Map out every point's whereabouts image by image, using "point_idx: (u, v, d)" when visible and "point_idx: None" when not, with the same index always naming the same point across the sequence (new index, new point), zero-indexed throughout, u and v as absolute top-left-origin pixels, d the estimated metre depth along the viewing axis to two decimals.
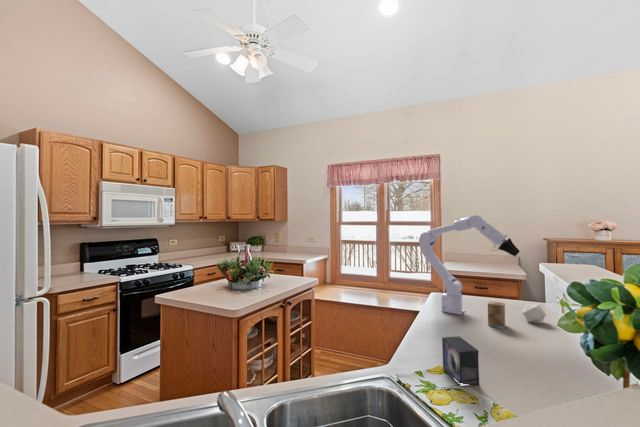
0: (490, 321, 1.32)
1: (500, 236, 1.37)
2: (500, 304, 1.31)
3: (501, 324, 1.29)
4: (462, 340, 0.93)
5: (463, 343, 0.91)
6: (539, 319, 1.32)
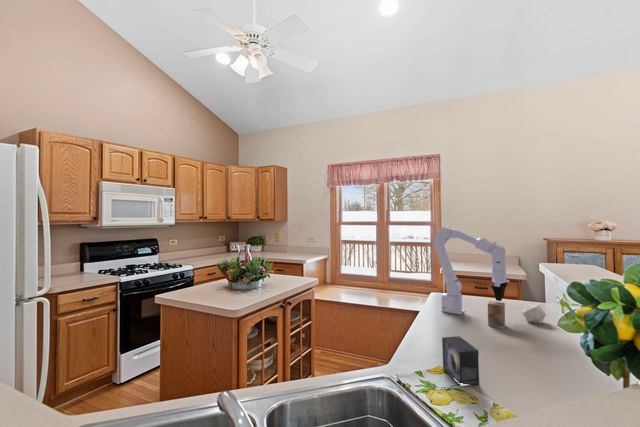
0: (490, 321, 1.32)
1: (502, 279, 1.38)
2: (500, 304, 1.31)
3: (501, 324, 1.29)
4: (462, 340, 0.93)
5: (463, 343, 0.91)
6: (539, 319, 1.32)
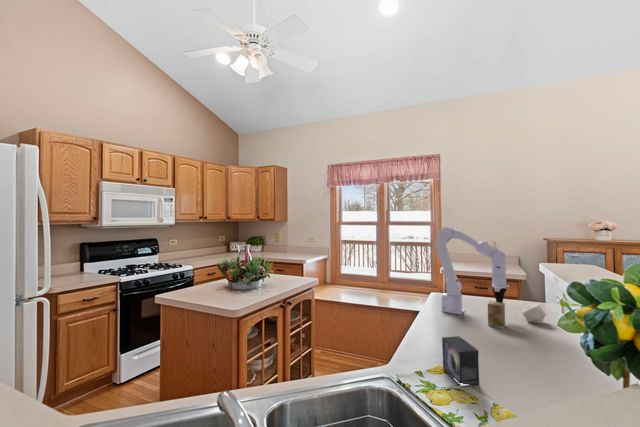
0: (490, 321, 1.32)
1: (502, 284, 1.38)
2: (500, 304, 1.31)
3: (501, 324, 1.29)
4: (462, 340, 0.93)
5: (463, 343, 0.91)
6: (539, 319, 1.32)
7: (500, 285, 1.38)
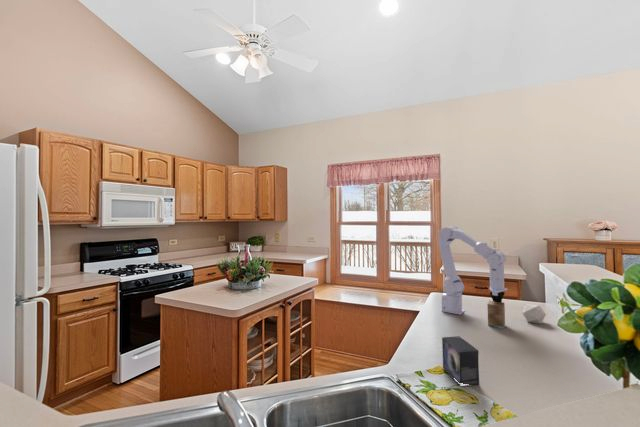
0: (490, 321, 1.32)
1: (500, 287, 1.32)
2: (500, 304, 1.30)
3: (501, 324, 1.29)
4: (462, 340, 0.93)
5: (463, 343, 0.91)
6: (539, 319, 1.32)
7: (498, 289, 1.32)
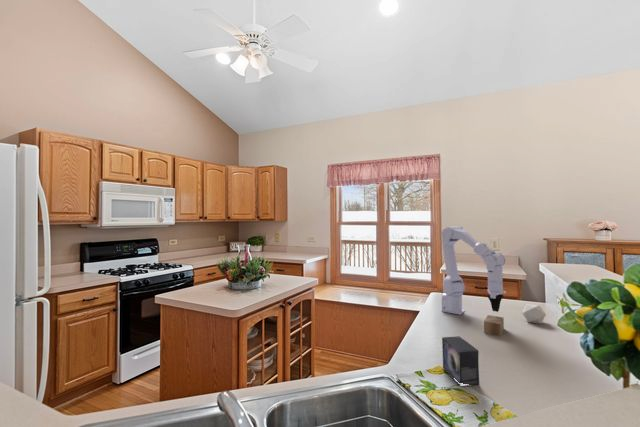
0: None
1: (499, 290, 1.28)
2: (497, 331, 1.21)
3: None
4: (462, 340, 0.93)
5: (463, 343, 0.91)
6: (539, 319, 1.32)
7: (496, 291, 1.28)
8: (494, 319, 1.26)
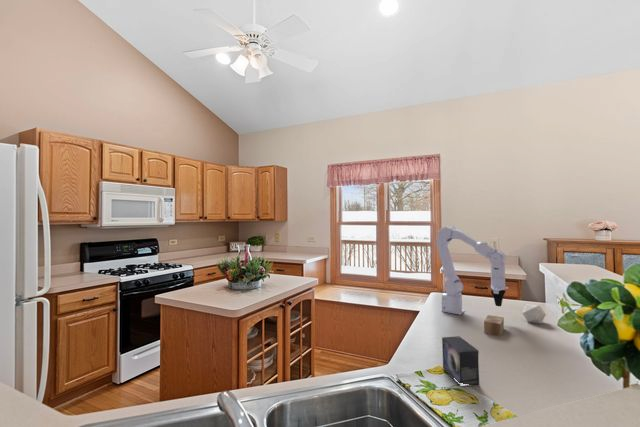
0: None
1: (501, 285, 1.35)
2: (497, 331, 1.21)
3: None
4: (462, 340, 0.93)
5: (463, 343, 0.91)
6: (539, 319, 1.32)
7: (499, 287, 1.35)
8: (494, 319, 1.26)
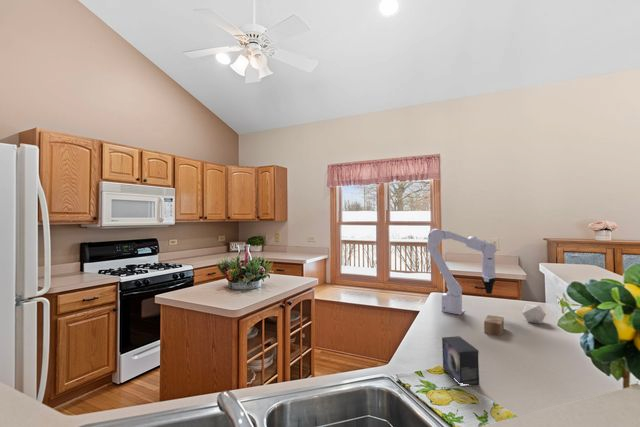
0: None
1: (491, 274, 1.45)
2: (497, 331, 1.21)
3: None
4: (462, 340, 0.93)
5: (463, 343, 0.91)
6: (539, 319, 1.32)
7: (489, 275, 1.45)
8: (494, 319, 1.26)
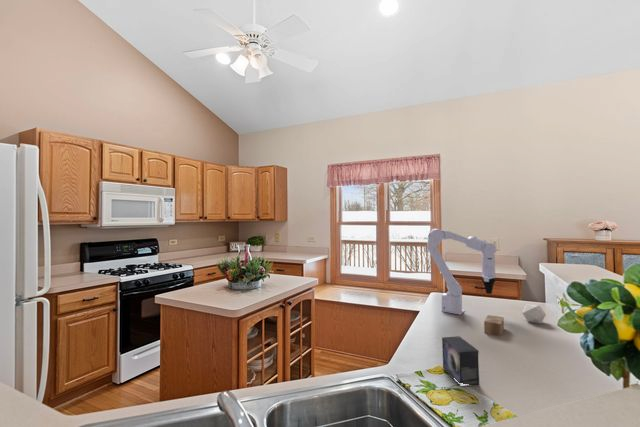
0: None
1: (491, 274, 1.45)
2: (497, 331, 1.21)
3: None
4: (462, 340, 0.93)
5: (463, 343, 0.91)
6: (539, 319, 1.32)
7: (489, 275, 1.45)
8: (494, 319, 1.26)
